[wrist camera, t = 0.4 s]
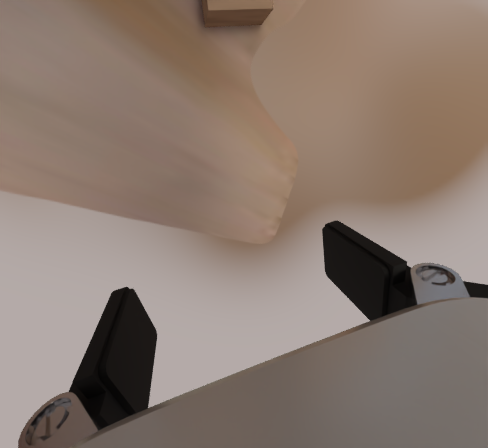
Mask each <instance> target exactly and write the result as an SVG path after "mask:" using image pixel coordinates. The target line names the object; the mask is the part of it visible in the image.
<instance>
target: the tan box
mask: <svg viewBox="0 0 488 448" xmlns="http://www.w3.org/2000/svg"><path fill="white" fill-rule="evenodd" d="M201 1H202V8H203V15H204V22H205V27H220V26H244V25H262V23H263V22H264V21H265V19H266V18H267V16H268V15H269V14H270V12H271V11H272V10H273V0H201Z"/></svg>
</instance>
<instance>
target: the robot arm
mask: <svg viewBox="0 0 488 448" xmlns="http://www.w3.org/2000/svg"><path fill="white" fill-rule="evenodd" d="M322 231H323V247H324V262H325V272H326V275H327V276H328V278H329V279H330V280H331V281H332V282H333V283H334V284H335V285H336V286H337V287H338V288H339V289H340V290H341V291H342V292H343V293H344V294H345V295H346V296H347V297H348V298H349V299H350V300H351V301H352V302H353V303H354V304H355V306H356V307H357V308H358V309H359V310H360V311H362V313H363V314H364V315H365V316H366V317H367V318H368V319H369V320H370V321H369V322H367V323H364V324H361V325H359V326H356V327H353V328H351V329H348V330H346V331H343V332H341V333H338V334H335V335H333V336H330V337H327V338H325V339H322V340H320V341H317V342H314V343H312V344H309V345H307V346H304V347H301V348H299V349H297V350H294V351H291V352H289V353H286V354H283V355H281V356H278V357H276V358H273V359H271V360H268V361H265V362H263V363H260V364H258V365H255V366H253V367H250V368H248V369H245V370H242V371H240V372H237V373H235V374H232V375H230V376H227V377H225V378H222V379H220V380H217V381H215V382H212V383H210V384H207V385H205V386H202V387H200V388H197V389H195V390H192V391H190V392H187V393H184V394H182V395H180V396H177V397H174V398H172V399H170V400H167V401H165V402H162V403H160V404H158V405H155V406H153V407H150V408H148V403H149V396H150V388H151V379H152V372H153V365H154V357H155V349H156V341H157V333H156V329H155V327H154V326H153V324H152V322H151V320H150V318H149V316H148V314H147V312H146V311H145V309H144V307H143V305H142V303H141V302H140V300H139V298H138V296H137V294H136V292H135V291H134V289H129V288H128V287H125V288H122V289H118V290H115V291H113V292H112V293H111V296H110V298H109V300H108V303H107V305H106V307H105V309H104V312H103V314H102V316H101V319H100V321H99V323H98V325H97V328H96V330H95V332H94V335H93V337H92V339H91V341H90V344H89V346H88V348H87V351H86V353H85V355H84V357H83V359H82V362H81V364H80V366H79V369H78V371H77V373H76V375H75V378H74V380H73V383H72V385H71V387H70V390H69V392H66V393H62V394H59V395H58V396H56V397H54V398H52V399H50V400H49V401H48V402H47V403H45V404H44V405H43V406H42V407H41V408H40V409H39V410H37V411H36V412H35V413H34V415H33V416H32V417H31V418H30V420H29V421H28V422H27V424H26V425H25V427H24V429H23V431H22V432H21V435H20V438H19V441H18V444H19V445H18V446H19V447H18V448H488V285H485V284H478V283H471V282H464V281H462V279H461V277H460V276H459V274H458V273H456V272H455V271H454V270H452V269H450V268H448V267H445V266H443V265H439V264H434V263H421V264H417V265H415V266H413V267H412V268H411V267H409V266H407V262H406V261H404V260H403V259H401V258H400V257H398V256H396V255H395V254H393V253H391V252H390V251H388V250H386V249H385V248H383V247H381V246H380V245H378V244H376V243H374V242H373V241H371V240H370V239H368V238H366V237H364V236H363V235H361V234H359V233H358V232H356V231H354V230H353V229H351V228H349V227H348V226H346V225H344V224H343V223H341V222H339V221H333V222H330V223H327V224H326V225H325V227H324V228H323V229H322Z"/></svg>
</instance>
